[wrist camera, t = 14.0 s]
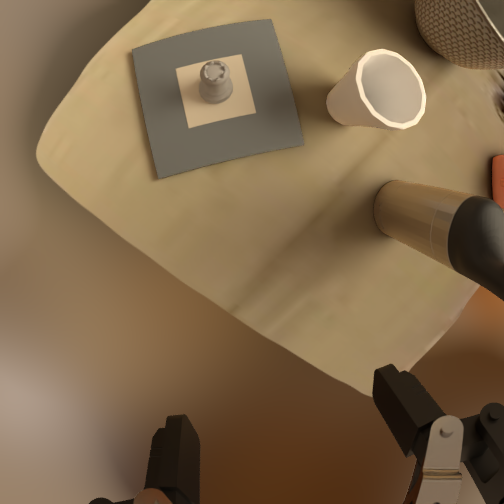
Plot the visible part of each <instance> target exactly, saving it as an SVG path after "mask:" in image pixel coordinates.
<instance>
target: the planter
mask: <svg viewBox="0 0 504 504" xmlns="http://www.w3.org/2000/svg"><path fill="white" fill-rule="evenodd" d="M415 15H416V24H417V28H418V30H419V32H420V34H421V36H422V38H423V39H424V41H425V42H426V43H427V44H428V46H429V47H430V48H432V49H433V50H434V51H435V52H436V53H438V54H440V55H442V56H443V57H445V58H446V59H447V60H449V61H451V62H452V63H454V64H456V65H458V66H461V67H464V68H468V69H503V68H504V0H415Z"/></svg>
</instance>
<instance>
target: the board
mask: <svg viewBox="0 0 504 504" xmlns="http://www.w3.org/2000/svg"><path fill="white" fill-rule="evenodd" d="M132 54H133V60H134V66H135V72H136V78H137V83H138V89H139V94H140V99H141V104H142V109H143V114H144V119H145V124H146V128H147V133H148V137H149V142H150V146H151V150H152V155H153V159H154V163H155V167H156V171H157V175H158V179H161V178H164V177H168V176H171V175H174V174H178V173H182V172H185V171H189V170H192V169H196V168H200V167H204V166H208V165H212V164H216V163H220V162H224V161H228V160H232V159H237V158H241V157H245V156H250V155H255V154H259V153H264V152H269V151H274V150H279V149H285V148H290V147H295V146H301V145H304V140H303V135H302V131H301V126H300V122H299V118H298V114H297V109H296V105H295V101H294V97H293V93H292V89H291V86H290V82H289V78H288V74H287V71H286V67H285V63H284V60H283V56H282V53H281V49H280V46H279V43H278V39H277V36H276V33H275V29H274V26H273V23H272V20H271V19H266V20H257V21H248V22H241V23H234V24H228V25H222V26H217V27H211V28H207V29H202V30H197V31H193V32H189V33H185V34H181V35H177V36H173V37H170V38H166V39H163V40H159V41H156V42H153V43H150V44H147V45H144V46H141V47H138V48H135V49H132ZM213 60H214V61H221V62H224V63H225V64H226V65H227V66H228V67H229V70H230V77H229V78H230V79H231V81H232V83H233V92H232V94H231V96H230V98H228V99H227V100H226V101H225V102H222V103H219V104H212V103H209V102H207V101H205V100H204V99H203V98H202V97H201V96H200V93H199V83H200V81H201V78H200V70H201V68H202V67H203V65H205V64H206V63H207V62H210V61H213Z"/></svg>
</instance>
